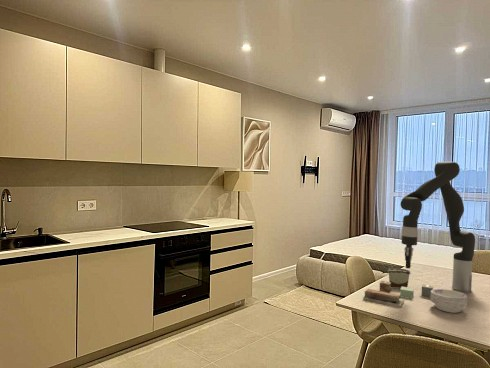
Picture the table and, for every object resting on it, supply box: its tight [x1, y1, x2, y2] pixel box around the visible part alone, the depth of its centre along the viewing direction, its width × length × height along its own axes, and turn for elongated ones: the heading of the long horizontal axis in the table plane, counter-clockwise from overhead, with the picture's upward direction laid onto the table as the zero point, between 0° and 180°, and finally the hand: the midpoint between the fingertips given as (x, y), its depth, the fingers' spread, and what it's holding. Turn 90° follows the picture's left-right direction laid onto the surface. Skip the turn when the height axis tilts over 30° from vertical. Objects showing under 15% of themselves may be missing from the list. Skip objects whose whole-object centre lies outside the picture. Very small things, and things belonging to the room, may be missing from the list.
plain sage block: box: [399, 287, 415, 299], centre depth 188 cm, size 6×6×4 cm
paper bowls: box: [429, 288, 468, 314], centre depth 170 cm, size 15×15×8 cm
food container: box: [387, 267, 411, 289], centre depth 205 cm, size 12×6×10 cm, turn 84°
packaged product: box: [362, 288, 405, 309], centre depth 178 cm, size 18×5×10 cm
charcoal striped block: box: [421, 284, 434, 298], centre depth 190 cm, size 5×5×5 cm
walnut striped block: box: [378, 280, 392, 293], centre depth 194 cm, size 5×5×5 cm
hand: (408, 268), depth 188 cm, fingers closed
